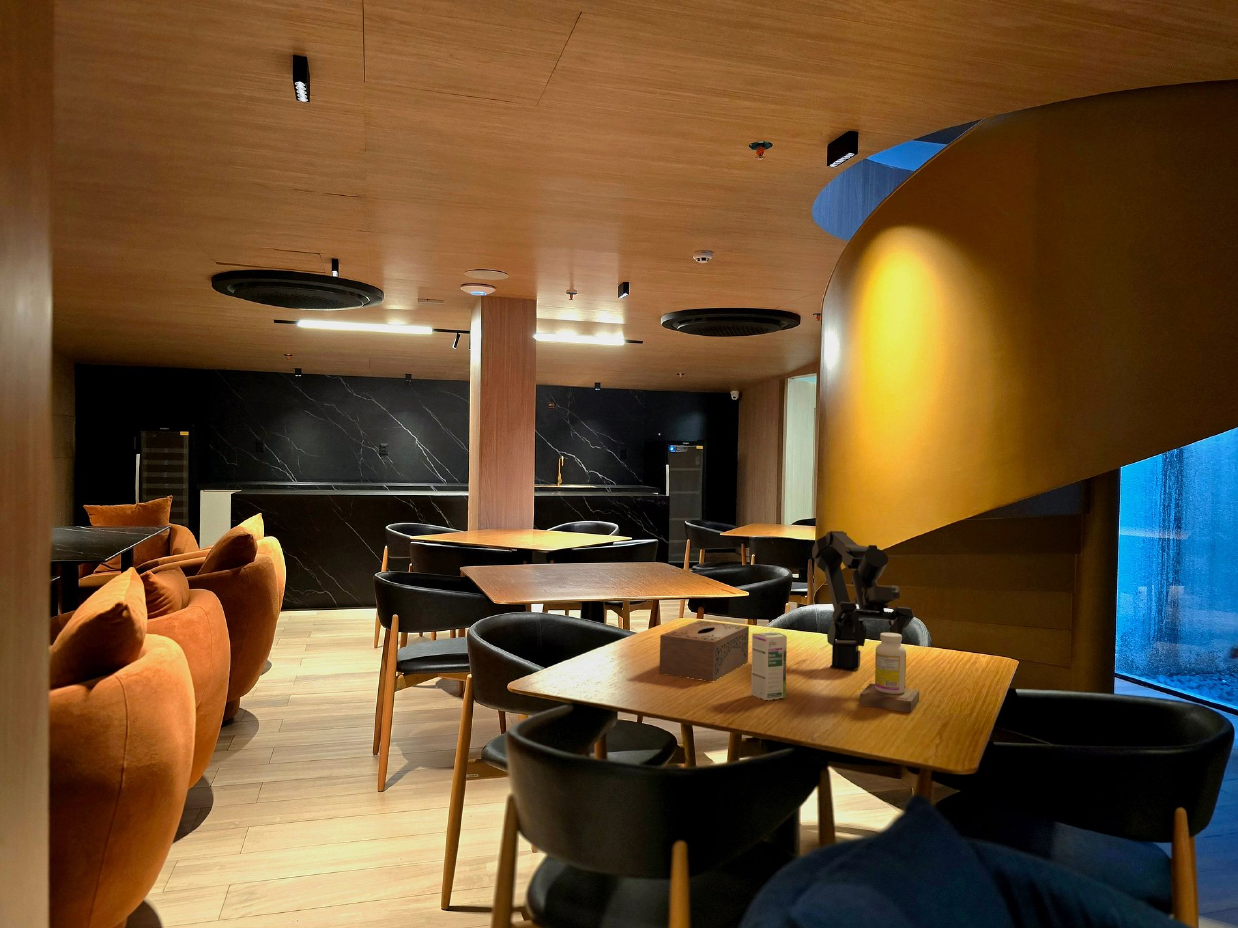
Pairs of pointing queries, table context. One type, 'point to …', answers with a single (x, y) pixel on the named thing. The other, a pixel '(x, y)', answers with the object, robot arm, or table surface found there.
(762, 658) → the syrup box
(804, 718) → the table surface
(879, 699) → the plinth
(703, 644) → the tissue box cover
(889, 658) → the supplement bottle
